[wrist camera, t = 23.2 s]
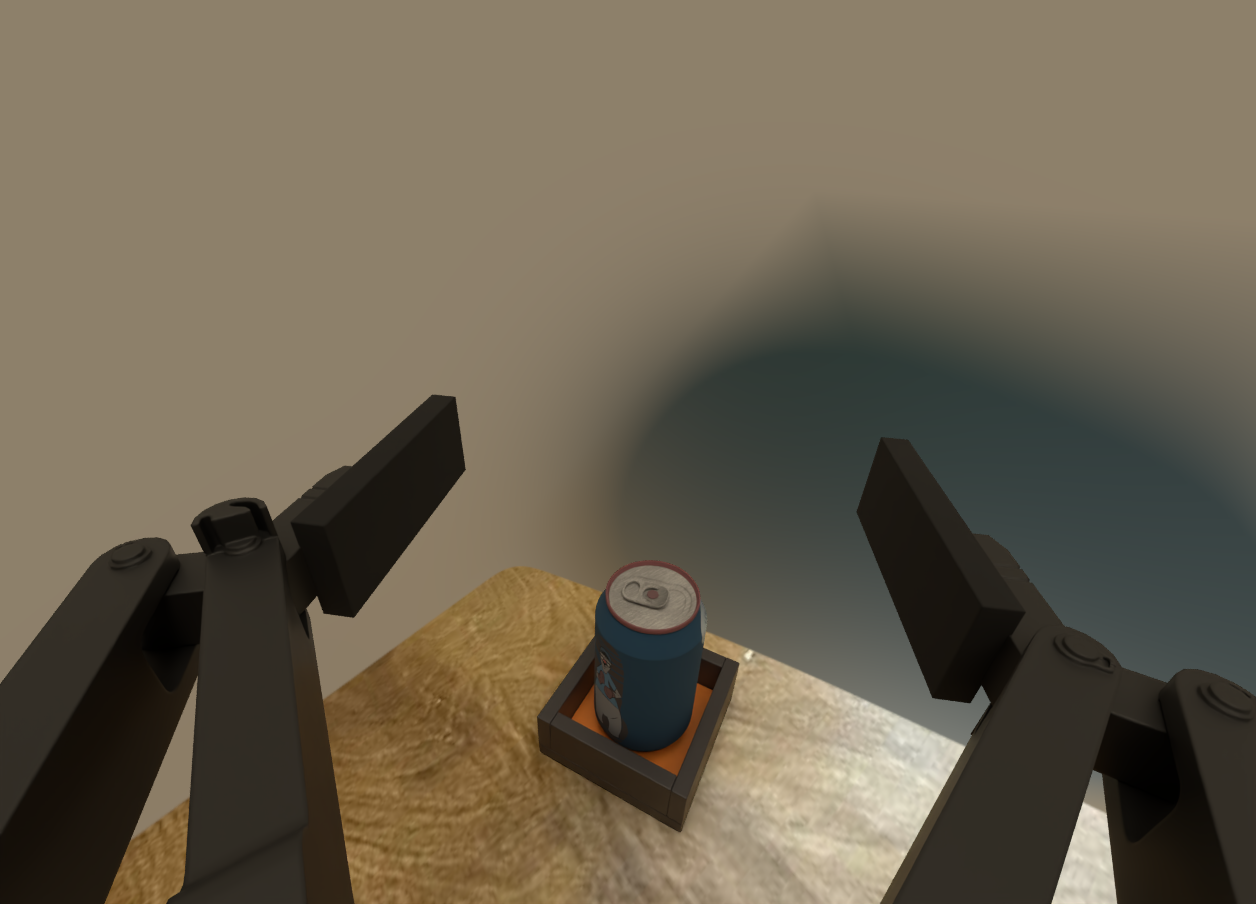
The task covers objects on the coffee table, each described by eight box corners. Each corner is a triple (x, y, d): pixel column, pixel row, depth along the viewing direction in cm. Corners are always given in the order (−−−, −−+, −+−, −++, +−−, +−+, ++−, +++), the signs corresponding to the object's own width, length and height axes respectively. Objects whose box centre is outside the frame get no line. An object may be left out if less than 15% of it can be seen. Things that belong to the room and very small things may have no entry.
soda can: (699, 687, 39) (720, 569, 33) (677, 777, 34) (697, 654, 28) (613, 660, 41) (618, 542, 35) (578, 741, 35) (576, 618, 29)
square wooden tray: (539, 751, 36) (536, 716, 34) (612, 642, 44) (613, 608, 42) (680, 833, 32) (686, 799, 30) (731, 696, 40) (739, 662, 38)
